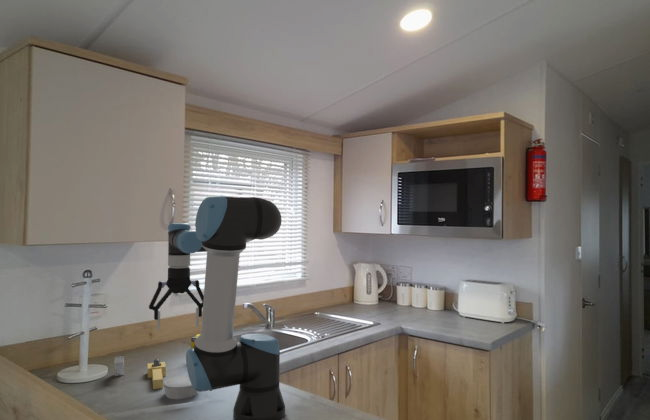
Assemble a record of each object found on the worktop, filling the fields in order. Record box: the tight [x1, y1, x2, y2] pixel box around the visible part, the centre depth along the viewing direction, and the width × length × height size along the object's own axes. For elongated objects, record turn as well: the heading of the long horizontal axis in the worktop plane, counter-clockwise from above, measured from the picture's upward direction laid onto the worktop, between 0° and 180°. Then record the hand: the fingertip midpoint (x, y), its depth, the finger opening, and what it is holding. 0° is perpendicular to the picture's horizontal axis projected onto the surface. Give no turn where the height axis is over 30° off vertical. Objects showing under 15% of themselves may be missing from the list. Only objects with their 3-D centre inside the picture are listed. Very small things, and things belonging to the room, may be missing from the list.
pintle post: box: [153, 358, 161, 367], centre depth 166 cm, size 2×2×6 cm
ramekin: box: [163, 374, 198, 400], centre depth 148 cm, size 11×11×5 cm
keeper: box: [113, 355, 125, 377], centre depth 163 cm, size 8×3×7 cm, turn 22°
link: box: [147, 361, 167, 390], centre depth 161 cm, size 18×6×3 cm, turn 22°
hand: (178, 327), depth 162 cm, fingers open, 12 cm apart
